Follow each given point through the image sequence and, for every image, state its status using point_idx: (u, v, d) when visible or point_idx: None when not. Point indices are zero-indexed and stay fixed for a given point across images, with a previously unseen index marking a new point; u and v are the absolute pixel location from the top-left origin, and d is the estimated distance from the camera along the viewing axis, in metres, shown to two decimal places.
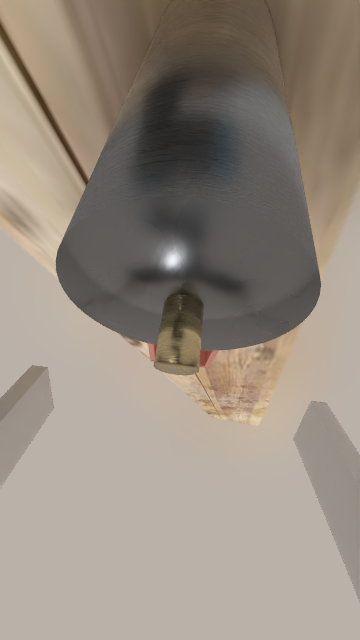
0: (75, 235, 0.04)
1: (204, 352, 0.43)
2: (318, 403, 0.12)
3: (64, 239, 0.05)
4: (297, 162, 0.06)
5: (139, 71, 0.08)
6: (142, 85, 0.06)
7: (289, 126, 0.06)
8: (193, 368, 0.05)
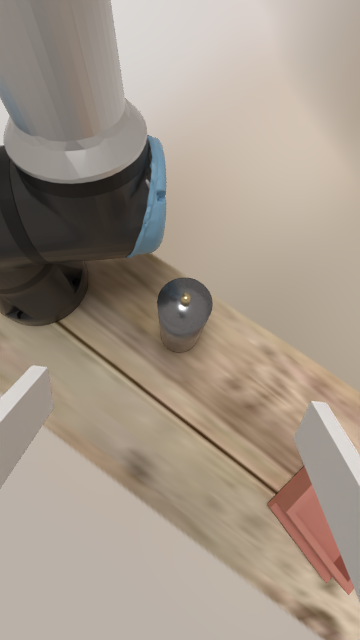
0: (158, 299, 0.27)
1: None
2: (318, 403, 0.12)
3: (157, 302, 0.27)
4: None
5: None
6: None
7: None
8: (187, 293, 0.26)
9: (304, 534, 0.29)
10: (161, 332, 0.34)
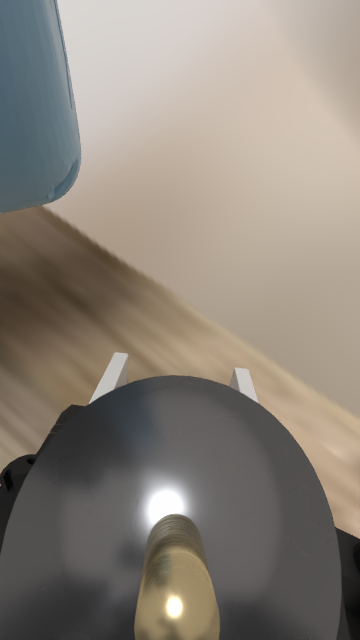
0: (11, 536, 0.04)
1: None
2: (240, 369, 0.14)
3: (2, 555, 0.04)
4: None
5: None
6: None
7: None
8: (192, 584, 0.03)
9: None
10: None
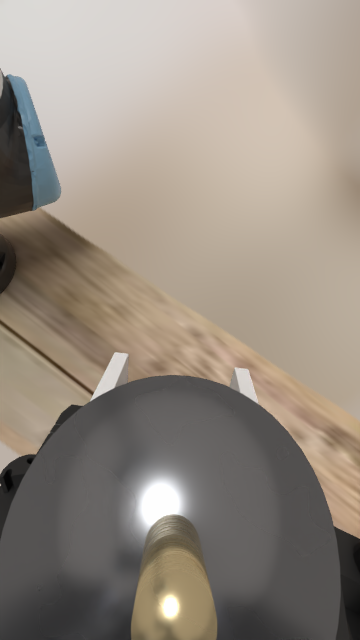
0: (8, 537, 0.04)
1: None
2: (240, 369, 0.14)
3: None
4: None
5: None
6: None
7: None
8: (190, 586, 0.03)
9: None
10: None
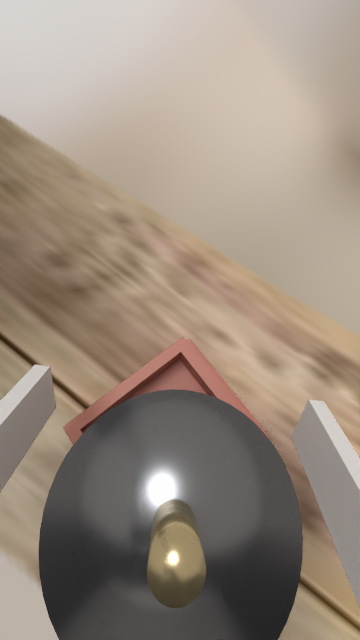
0: (48, 516, 0.06)
1: None
2: (316, 402, 0.12)
3: (41, 530, 0.06)
4: None
5: None
6: None
7: None
8: (187, 544, 0.04)
9: None
10: None
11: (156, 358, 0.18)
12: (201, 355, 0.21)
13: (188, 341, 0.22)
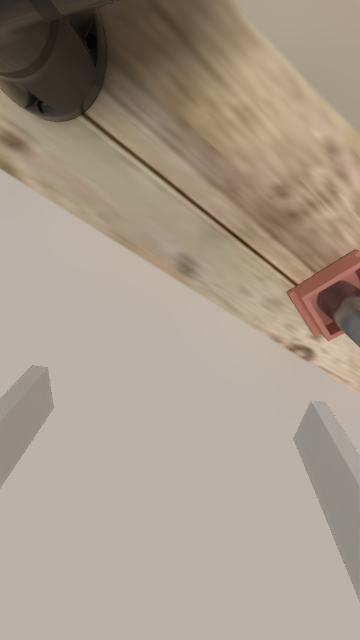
0: None
1: None
2: (318, 403, 0.12)
3: None
4: None
5: (338, 313, 0.36)
6: (349, 315, 0.34)
7: None
8: None
9: (310, 310, 0.40)
10: (332, 318, 0.38)
11: (348, 270, 0.37)
12: None
13: (358, 252, 0.39)
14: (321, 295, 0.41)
